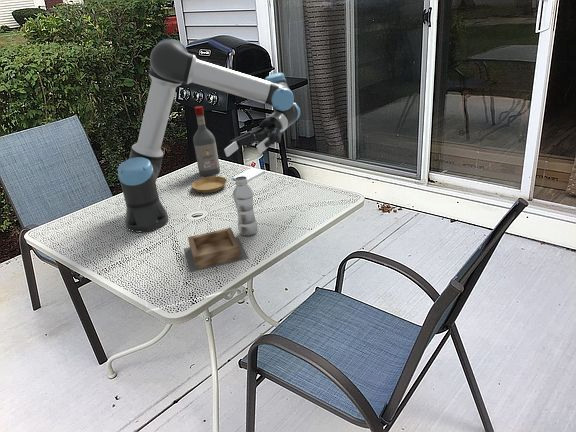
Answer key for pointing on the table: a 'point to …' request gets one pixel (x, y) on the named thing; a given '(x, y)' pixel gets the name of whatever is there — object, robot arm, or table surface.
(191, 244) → the wooden tray
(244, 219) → the plastic bottle
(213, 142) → the liquor
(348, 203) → the table surface
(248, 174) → the external hard drive
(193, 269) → the mat
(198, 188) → the plant saucer
